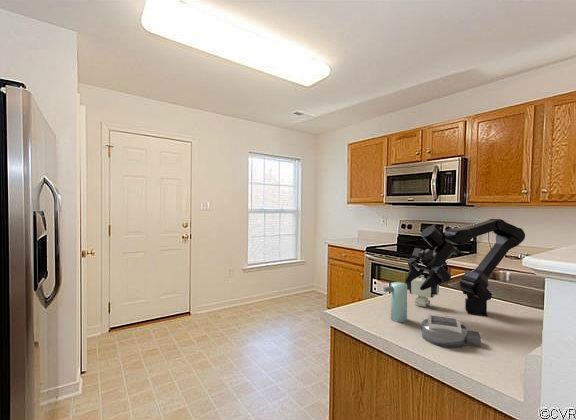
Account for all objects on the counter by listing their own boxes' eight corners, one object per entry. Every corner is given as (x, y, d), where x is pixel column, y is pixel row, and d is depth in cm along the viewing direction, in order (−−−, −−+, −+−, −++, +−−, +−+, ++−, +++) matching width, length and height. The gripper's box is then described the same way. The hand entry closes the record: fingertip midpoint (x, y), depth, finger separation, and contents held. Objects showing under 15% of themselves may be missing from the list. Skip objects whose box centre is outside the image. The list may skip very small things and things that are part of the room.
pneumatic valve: (436, 310, 119) (436, 280, 119) (406, 304, 127) (406, 276, 126) (439, 306, 123) (439, 277, 123) (410, 300, 131) (410, 273, 131)
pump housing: (401, 316, 113) (401, 281, 113) (410, 321, 108) (410, 285, 108) (381, 317, 112) (381, 283, 111) (389, 323, 106) (389, 287, 106)
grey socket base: (476, 335, 96) (476, 318, 96) (483, 353, 85) (483, 334, 84) (421, 327, 103) (421, 311, 102) (421, 343, 91) (421, 325, 91)
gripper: (411, 237, 121) (386, 266, 119) (443, 243, 102) (414, 277, 101) (428, 256, 122) (403, 285, 120) (463, 265, 104) (435, 299, 102)
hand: (413, 286), depth 111 cm, fingers open, 9 cm apart
